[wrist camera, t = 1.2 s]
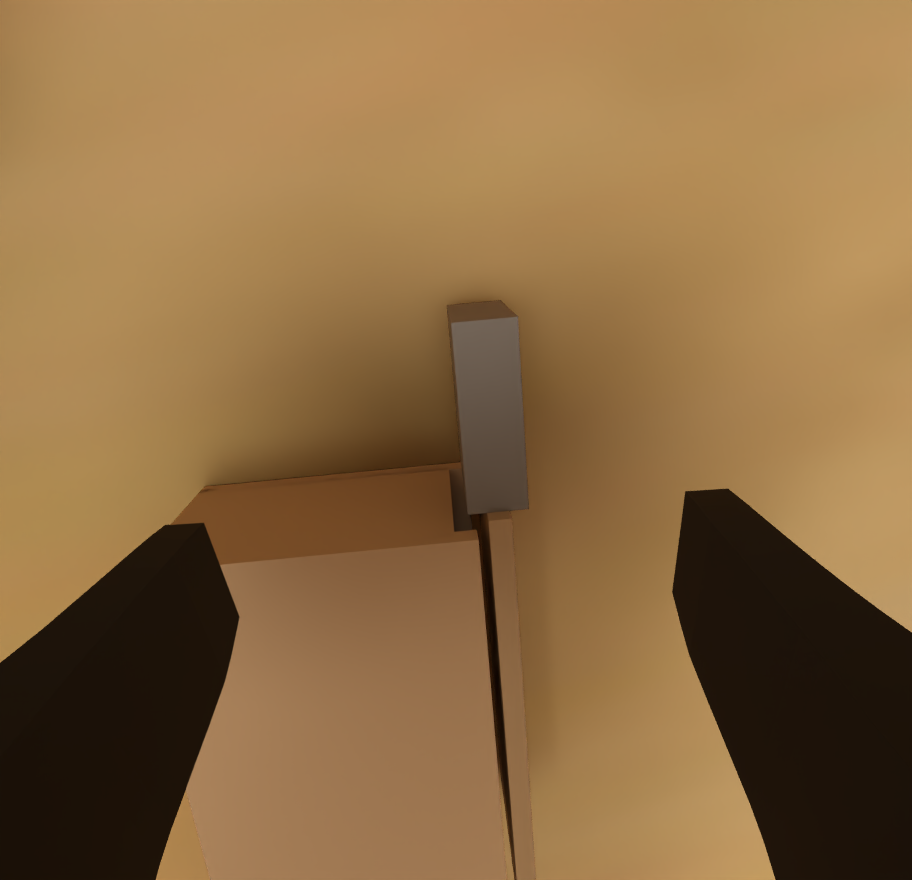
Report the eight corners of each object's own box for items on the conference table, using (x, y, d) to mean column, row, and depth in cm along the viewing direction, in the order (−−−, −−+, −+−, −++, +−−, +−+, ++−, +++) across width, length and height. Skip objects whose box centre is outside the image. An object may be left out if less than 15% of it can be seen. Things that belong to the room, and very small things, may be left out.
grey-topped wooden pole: (528, 777, 26) (553, 916, 21) (488, 781, 26) (504, 921, 21) (496, 296, 20) (520, 319, 15) (445, 301, 20) (451, 326, 15)
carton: (493, 782, 27) (511, 932, 21) (274, 804, 27) (232, 960, 21) (465, 461, 22) (478, 540, 17) (204, 486, 22) (127, 573, 17)
